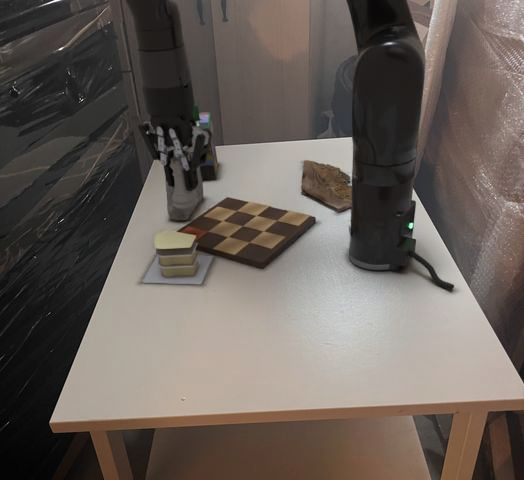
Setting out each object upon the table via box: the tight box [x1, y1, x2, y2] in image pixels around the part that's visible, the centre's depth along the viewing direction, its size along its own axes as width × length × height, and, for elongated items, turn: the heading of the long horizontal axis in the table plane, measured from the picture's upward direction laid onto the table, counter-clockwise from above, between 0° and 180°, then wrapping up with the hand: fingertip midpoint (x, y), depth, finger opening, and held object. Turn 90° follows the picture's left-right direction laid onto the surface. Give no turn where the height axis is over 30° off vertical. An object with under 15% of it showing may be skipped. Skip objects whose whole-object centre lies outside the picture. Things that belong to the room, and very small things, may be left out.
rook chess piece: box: [169, 156, 198, 209], centre depth 98 cm, size 4×4×8 cm
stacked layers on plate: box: [141, 230, 214, 285], centre depth 96 cm, size 10×9×6 cm
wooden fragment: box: [300, 159, 352, 214], centre depth 120 cm, size 26×11×1 cm, turn 9°
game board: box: [175, 196, 317, 270], centre depth 106 cm, size 20×18×1 cm
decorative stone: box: [164, 135, 204, 221], centre depth 111 cm, size 11×6×15 cm, turn 168°
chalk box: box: [193, 104, 219, 181], centre depth 125 cm, size 9×9×15 cm
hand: (183, 186), depth 99 cm, fingers closed on rook chess piece, 3 cm apart
